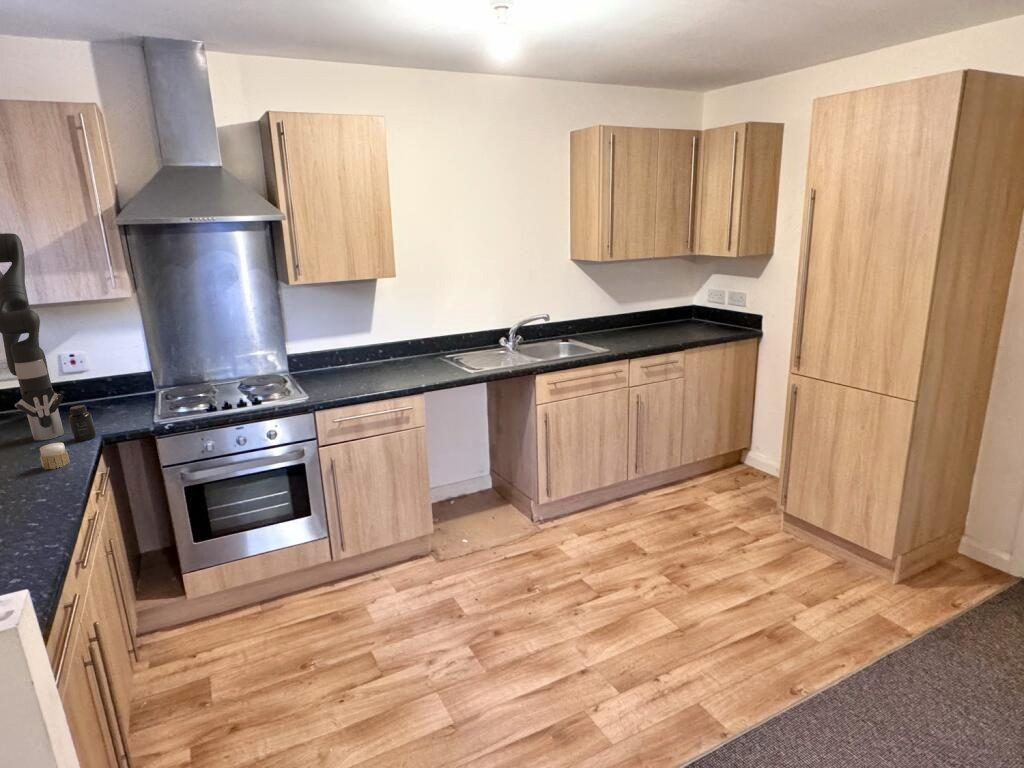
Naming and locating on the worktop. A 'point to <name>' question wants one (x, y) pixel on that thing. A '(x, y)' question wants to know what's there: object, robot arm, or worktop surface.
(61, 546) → the worktop surface
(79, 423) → the supplement bottle
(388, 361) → the worktop surface
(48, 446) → the cap
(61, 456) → the wooden slatted bowl
